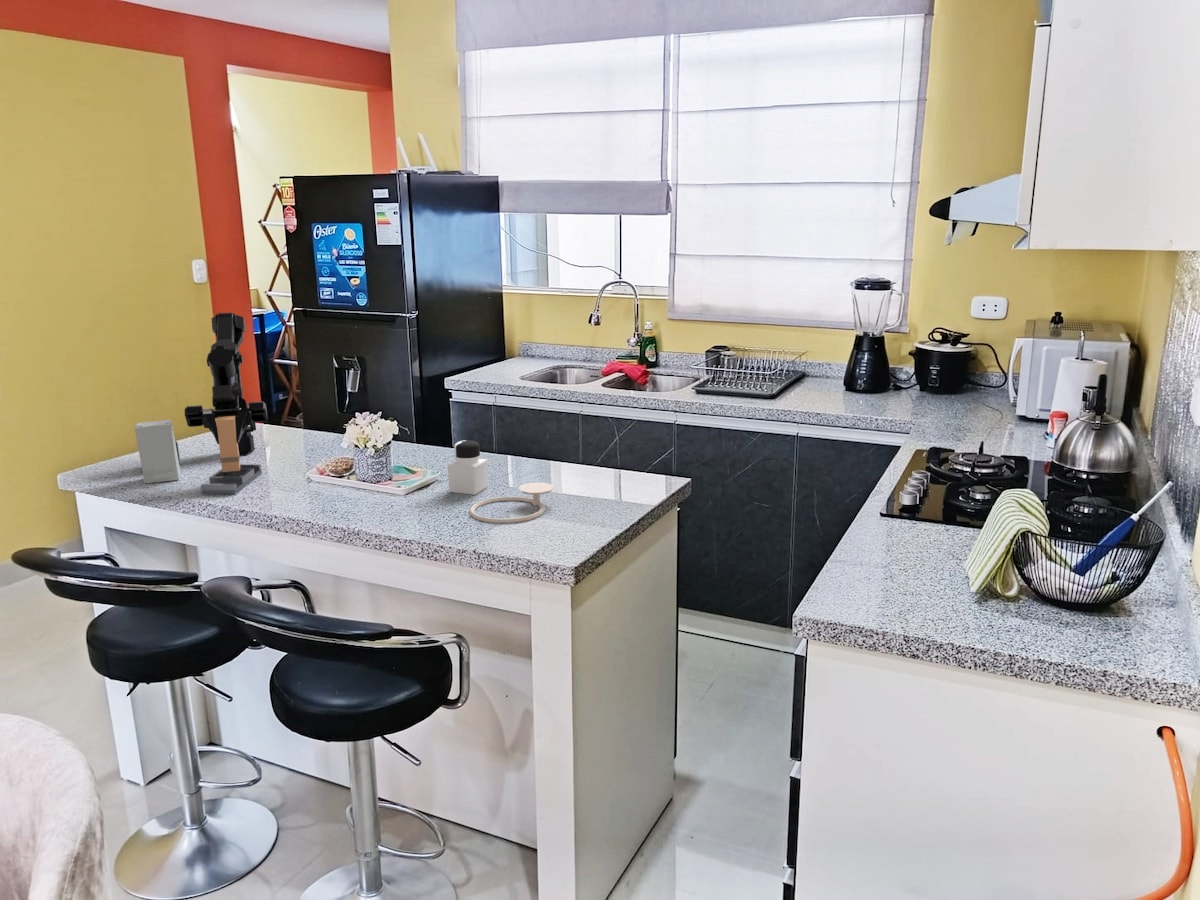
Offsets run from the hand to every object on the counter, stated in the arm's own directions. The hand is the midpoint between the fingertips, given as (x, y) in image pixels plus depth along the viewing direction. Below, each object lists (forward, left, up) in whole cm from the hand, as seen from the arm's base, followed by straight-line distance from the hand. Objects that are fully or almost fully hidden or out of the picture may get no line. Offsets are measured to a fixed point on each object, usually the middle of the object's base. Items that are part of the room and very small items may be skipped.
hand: (228, 442), depth 223 cm
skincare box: (-20, +5, -11) cm, 23 cm away
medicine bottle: (+59, -5, -11) cm, 60 cm away
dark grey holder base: (0, +1, -11) cm, 11 cm away
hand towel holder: (+71, -20, -11) cm, 75 cm away
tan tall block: (0, +1, -7) cm, 7 cm away
